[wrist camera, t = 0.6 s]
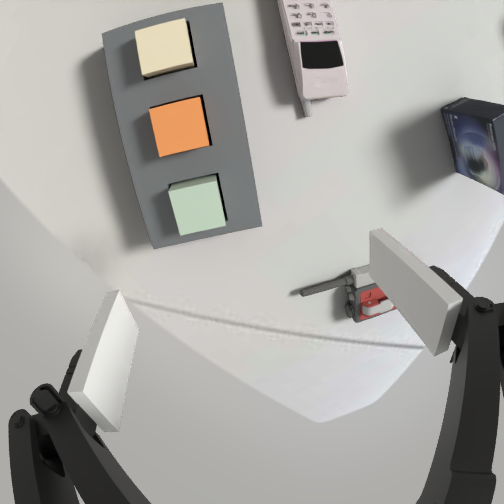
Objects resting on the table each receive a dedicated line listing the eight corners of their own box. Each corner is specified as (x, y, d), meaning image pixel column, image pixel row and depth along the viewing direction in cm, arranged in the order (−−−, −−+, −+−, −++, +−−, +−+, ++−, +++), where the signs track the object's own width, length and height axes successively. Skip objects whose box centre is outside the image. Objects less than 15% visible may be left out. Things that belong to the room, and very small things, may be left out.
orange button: (157, 109, 27) (149, 109, 23) (200, 98, 28) (199, 97, 24) (166, 150, 30) (159, 157, 26) (209, 140, 30) (209, 145, 26)
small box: (437, 108, 32) (492, 118, 23) (464, 96, 31) (517, 104, 22) (454, 174, 37) (503, 197, 28) (479, 158, 36) (526, 177, 27)
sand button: (144, 40, 24) (134, 31, 20) (188, 29, 24) (184, 18, 20) (151, 79, 26) (142, 74, 22) (195, 68, 26) (192, 62, 22)
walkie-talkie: (416, 247, 42) (296, 282, 42) (433, 260, 38) (305, 300, 38) (412, 291, 46) (303, 327, 46) (426, 306, 42) (311, 346, 42)
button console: (113, 40, 24) (101, 33, 21) (220, 13, 25) (222, 2, 21) (158, 234, 35) (153, 249, 32) (256, 213, 36) (262, 226, 32)
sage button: (173, 180, 31) (168, 191, 27) (215, 171, 31) (216, 180, 27) (183, 219, 33) (180, 235, 29) (223, 210, 34) (225, 225, 30)
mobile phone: (318, -84, 15) (368, 114, 26) (303, -63, 20) (345, 111, 32) (262, -86, 15) (313, 119, 26) (255, -62, 20) (297, 117, 31)
